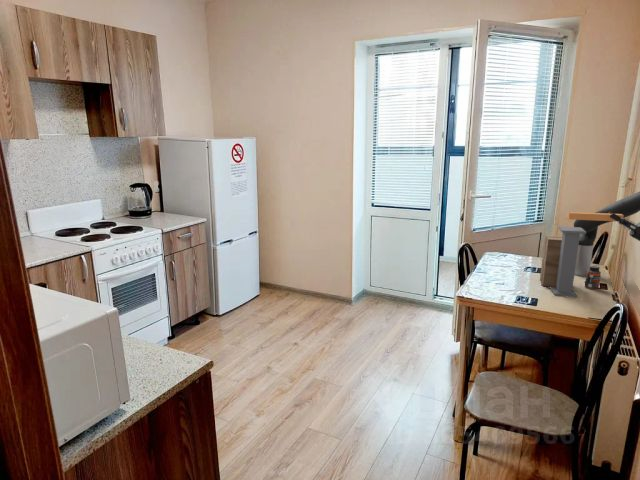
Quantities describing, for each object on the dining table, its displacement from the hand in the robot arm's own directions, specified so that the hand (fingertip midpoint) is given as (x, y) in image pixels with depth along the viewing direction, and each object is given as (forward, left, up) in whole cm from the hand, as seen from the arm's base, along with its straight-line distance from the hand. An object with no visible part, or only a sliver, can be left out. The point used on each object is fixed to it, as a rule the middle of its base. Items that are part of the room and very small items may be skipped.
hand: (610, 214), depth 198 cm
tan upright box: (-13, -17, -40) cm, 46 cm away
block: (0, -6, -3) cm, 7 cm away
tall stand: (0, -15, -40) cm, 43 cm away
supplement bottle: (-12, 0, -41) cm, 42 cm away
